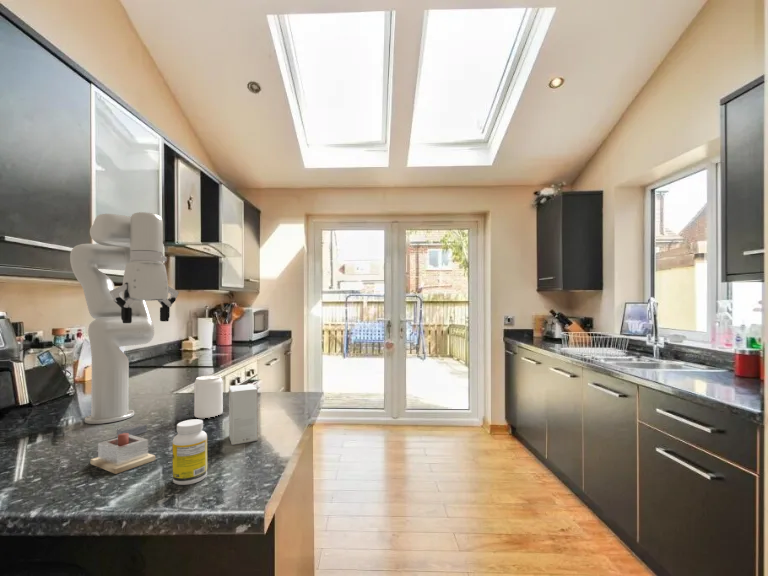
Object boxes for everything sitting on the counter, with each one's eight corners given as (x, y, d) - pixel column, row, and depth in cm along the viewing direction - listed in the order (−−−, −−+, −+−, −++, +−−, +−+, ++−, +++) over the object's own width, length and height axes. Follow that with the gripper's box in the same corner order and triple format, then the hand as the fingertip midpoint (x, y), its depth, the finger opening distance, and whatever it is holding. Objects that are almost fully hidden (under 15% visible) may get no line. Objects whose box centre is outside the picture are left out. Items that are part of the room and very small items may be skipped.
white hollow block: (98, 459, 85) (98, 443, 85) (129, 449, 91) (129, 434, 91) (116, 466, 81) (116, 449, 81) (148, 455, 87) (148, 439, 87)
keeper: (90, 463, 85) (90, 436, 86) (129, 451, 92) (129, 426, 92) (115, 474, 80) (116, 444, 80) (155, 460, 87) (155, 432, 87)
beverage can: (212, 420, 117) (211, 380, 117) (188, 419, 118) (188, 379, 119) (228, 412, 125) (227, 375, 125) (205, 411, 126) (205, 374, 127)
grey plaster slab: (117, 436, 103) (117, 429, 103) (140, 430, 108) (140, 423, 108) (122, 438, 101) (122, 431, 102) (146, 432, 107) (146, 424, 107)
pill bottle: (180, 473, 80) (180, 418, 80) (211, 471, 80) (211, 417, 81) (166, 487, 73) (166, 428, 74) (200, 485, 74) (200, 426, 74)
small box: (258, 441, 98) (257, 388, 98) (231, 445, 95) (231, 391, 95) (253, 431, 105) (253, 383, 105) (228, 435, 102) (228, 385, 103)
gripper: (170, 262, 114) (169, 320, 114) (103, 257, 100) (103, 323, 99) (185, 260, 111) (185, 320, 110) (118, 254, 96) (118, 324, 95)
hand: (146, 322), depth 104 cm, fingers open, 9 cm apart
